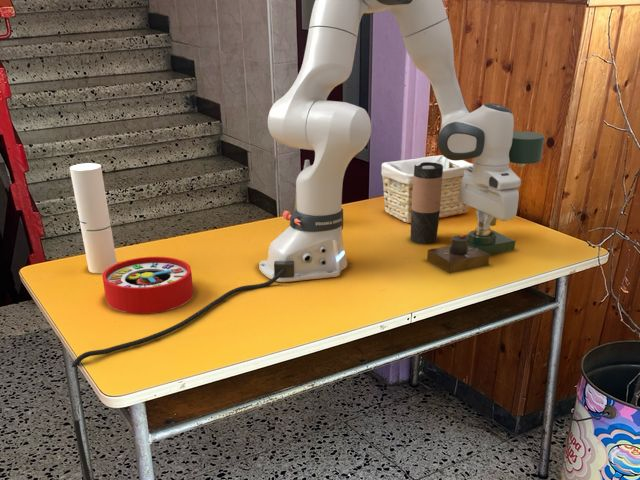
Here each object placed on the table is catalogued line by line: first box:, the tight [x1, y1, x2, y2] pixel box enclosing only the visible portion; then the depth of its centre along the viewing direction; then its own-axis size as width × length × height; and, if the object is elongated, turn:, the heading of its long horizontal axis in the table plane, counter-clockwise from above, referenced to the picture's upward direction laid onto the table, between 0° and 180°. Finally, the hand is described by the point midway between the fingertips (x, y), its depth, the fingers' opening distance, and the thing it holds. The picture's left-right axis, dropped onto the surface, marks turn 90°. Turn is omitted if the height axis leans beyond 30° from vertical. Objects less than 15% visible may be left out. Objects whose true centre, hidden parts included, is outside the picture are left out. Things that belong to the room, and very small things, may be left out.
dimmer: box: [426, 244, 491, 274], centre depth 187 cm, size 12×10×3 cm
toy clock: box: [101, 256, 195, 315], centre depth 170 cm, size 20×6×20 cm
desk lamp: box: [490, 130, 546, 227], centre depth 196 cm, size 13×10×22 cm
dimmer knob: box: [449, 234, 469, 255], centre depth 185 cm, size 4×4×4 cm
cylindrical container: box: [69, 162, 118, 274], centre depth 180 cm, size 7×7×25 cm
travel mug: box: [410, 162, 443, 245], centre depth 198 cm, size 8×8×20 cm
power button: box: [474, 226, 492, 237], centre depth 193 cm, size 4×4×2 cm
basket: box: [381, 154, 473, 224], centre depth 220 cm, size 24×16×15 cm
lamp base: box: [461, 229, 516, 256], centre depth 196 cm, size 12×10×4 cm
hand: (483, 228), depth 192 cm, fingers closed
